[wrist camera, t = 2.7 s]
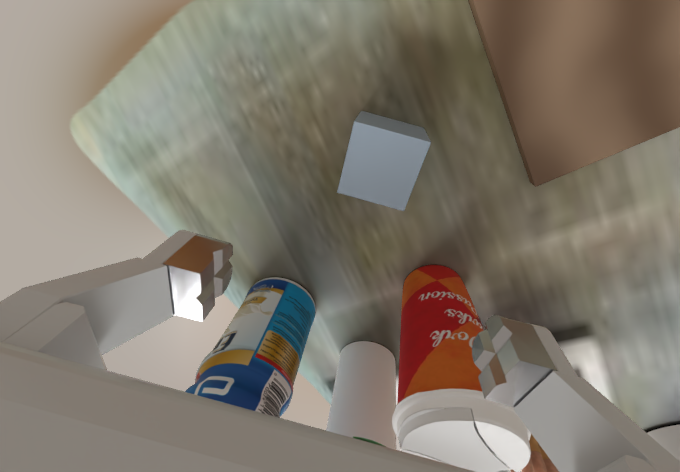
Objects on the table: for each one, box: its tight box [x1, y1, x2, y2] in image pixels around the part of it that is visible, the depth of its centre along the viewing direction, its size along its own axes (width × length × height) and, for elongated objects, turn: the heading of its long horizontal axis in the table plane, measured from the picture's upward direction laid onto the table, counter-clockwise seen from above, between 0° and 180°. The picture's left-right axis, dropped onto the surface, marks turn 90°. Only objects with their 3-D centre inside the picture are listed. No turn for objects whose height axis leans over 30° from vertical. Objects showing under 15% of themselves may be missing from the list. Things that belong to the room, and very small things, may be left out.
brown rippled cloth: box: [468, 0, 680, 187], centre depth 17 cm, size 16×16×1 cm
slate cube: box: [337, 111, 431, 211], centre depth 22 cm, size 5×5×5 cm
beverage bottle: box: [185, 277, 316, 418], centre depth 26 cm, size 8×8×20 cm
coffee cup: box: [392, 265, 531, 472], centre depth 23 cm, size 8×8×15 cm
